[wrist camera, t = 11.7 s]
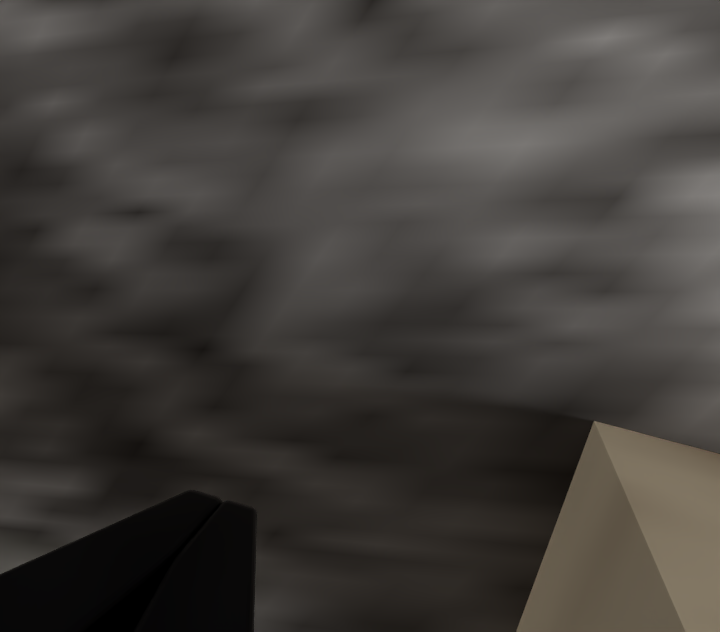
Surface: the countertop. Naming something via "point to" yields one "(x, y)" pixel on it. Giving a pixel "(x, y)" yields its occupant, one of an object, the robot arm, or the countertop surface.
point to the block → (633, 541)
